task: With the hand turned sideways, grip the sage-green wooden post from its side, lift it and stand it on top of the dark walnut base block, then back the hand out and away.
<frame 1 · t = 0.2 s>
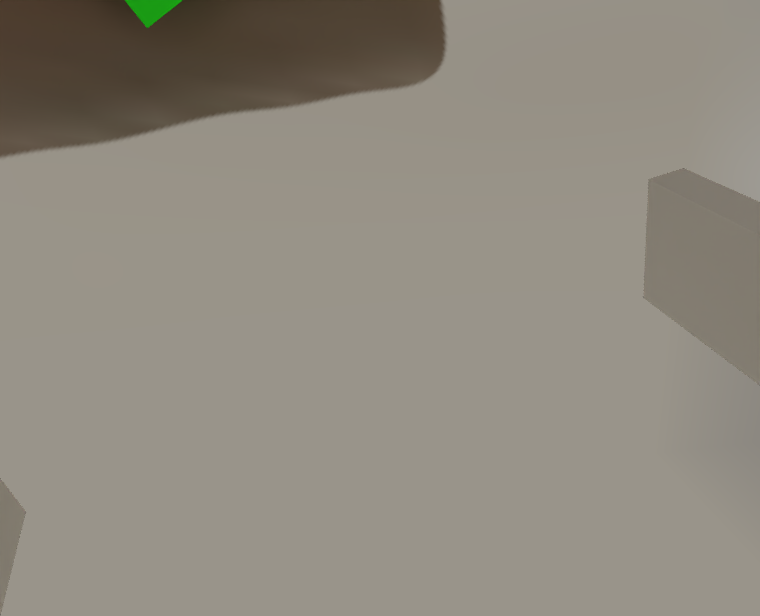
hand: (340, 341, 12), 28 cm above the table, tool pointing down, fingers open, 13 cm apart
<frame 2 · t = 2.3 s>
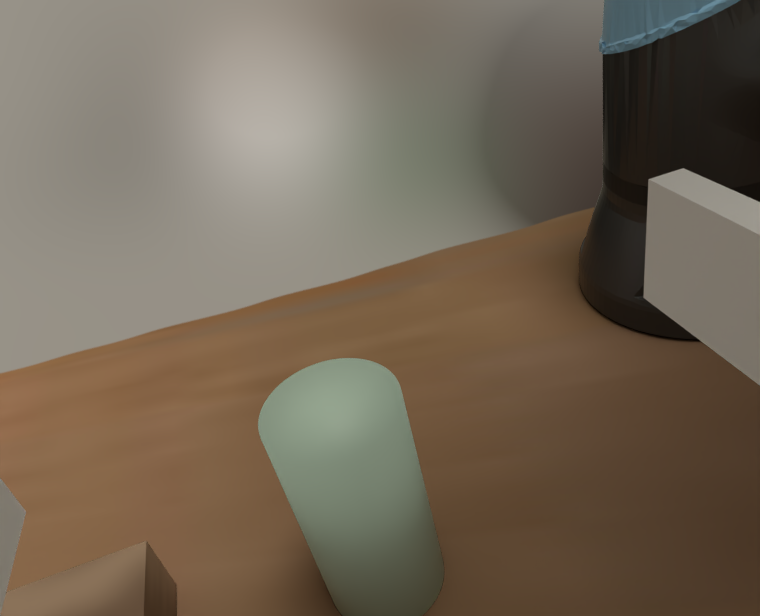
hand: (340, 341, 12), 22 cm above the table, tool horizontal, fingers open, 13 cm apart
green post: (386, 573, 33), on the table
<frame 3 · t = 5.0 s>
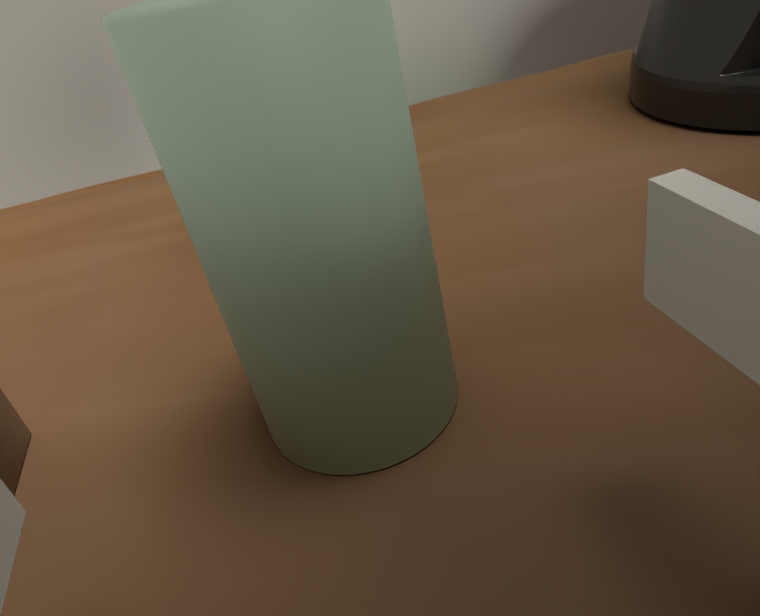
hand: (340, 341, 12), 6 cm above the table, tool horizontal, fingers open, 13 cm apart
green post: (362, 400, 20), on the table
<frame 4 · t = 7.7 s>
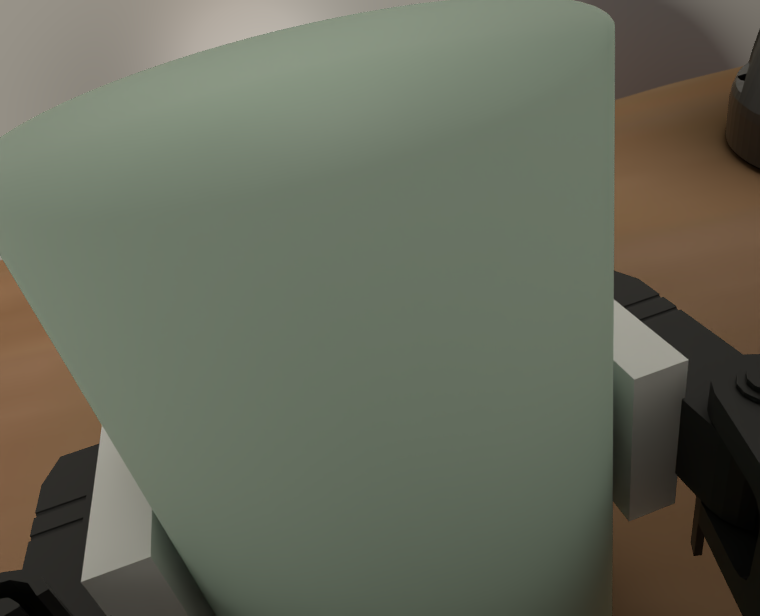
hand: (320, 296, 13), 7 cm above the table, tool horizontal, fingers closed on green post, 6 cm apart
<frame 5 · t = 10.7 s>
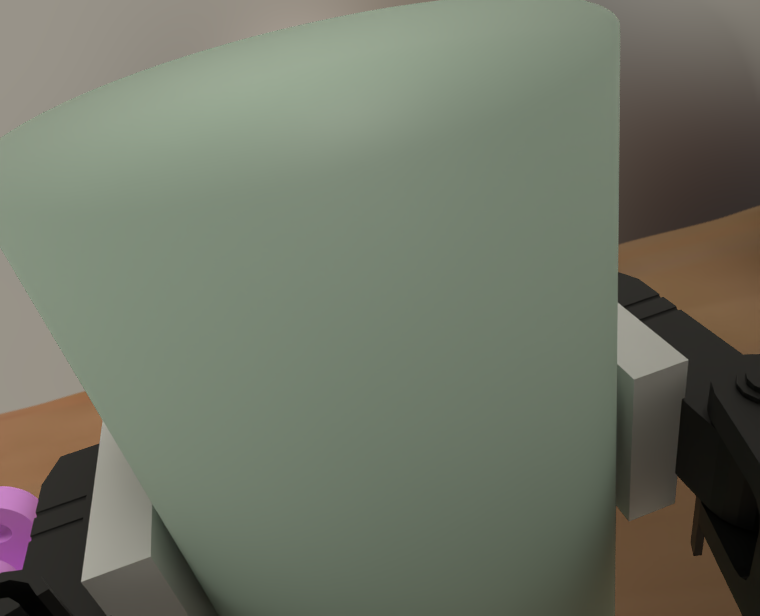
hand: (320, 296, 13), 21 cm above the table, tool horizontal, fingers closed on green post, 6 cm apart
when the fingers open (12 cm above the table, at t = 14.1 s): green post drops 1 cm, resting on walnut base.
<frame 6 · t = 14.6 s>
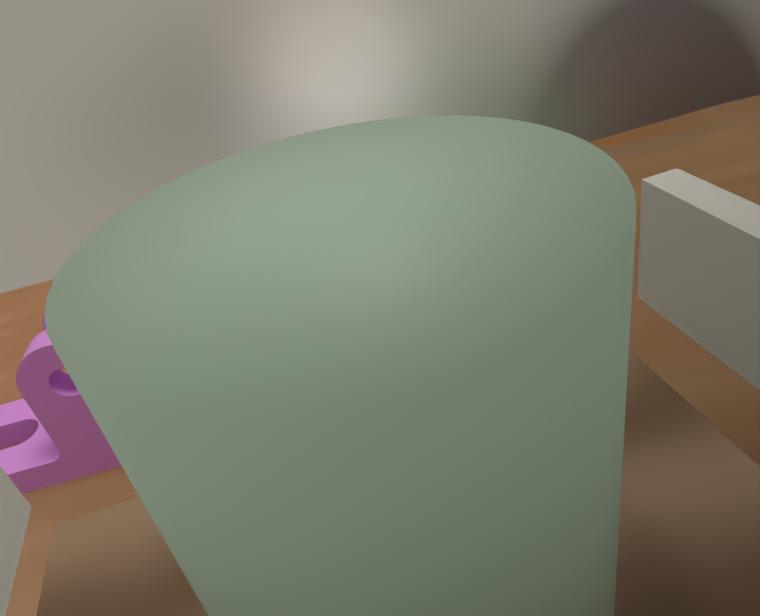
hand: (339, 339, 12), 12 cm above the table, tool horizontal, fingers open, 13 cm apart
bracket: (34, 456, 30), on the table
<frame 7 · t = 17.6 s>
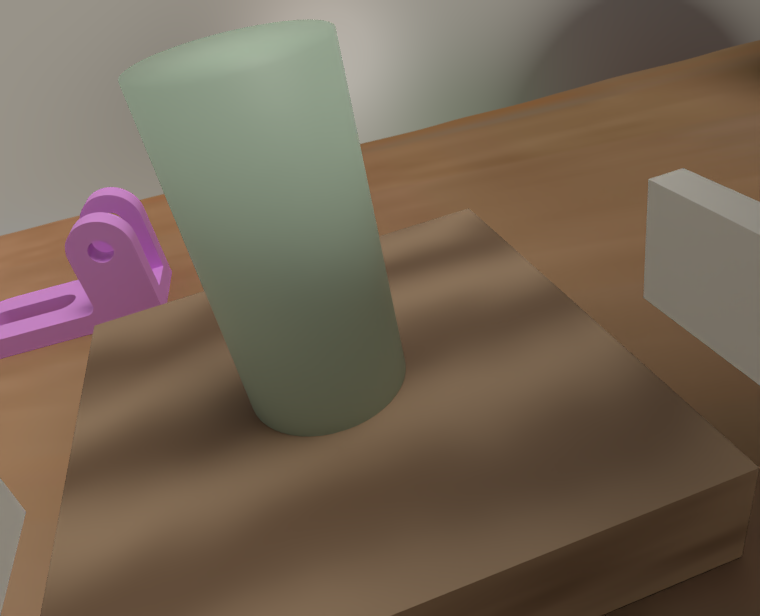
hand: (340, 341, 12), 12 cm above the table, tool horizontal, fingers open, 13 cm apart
green post: (327, 377, 24), point 4 cm above the table, touching walnut base
walnut base: (353, 449, 26), on the table
bracket: (72, 322, 41), on the table
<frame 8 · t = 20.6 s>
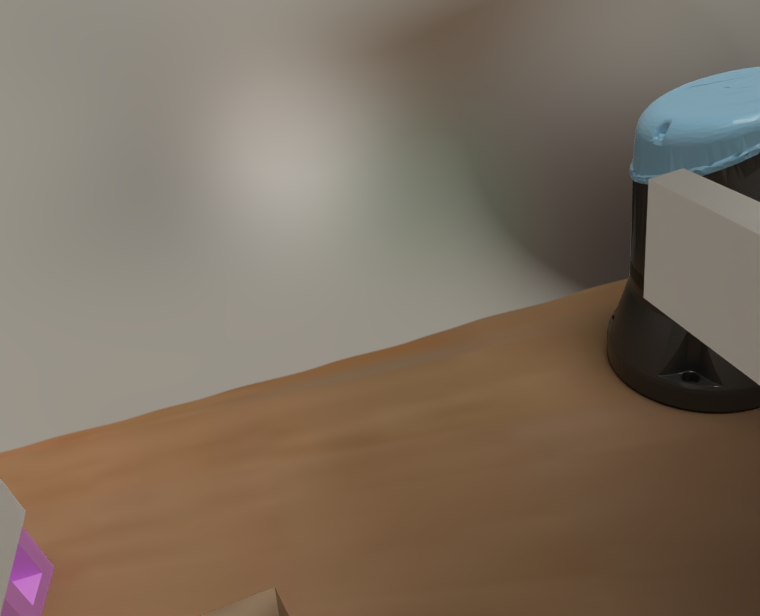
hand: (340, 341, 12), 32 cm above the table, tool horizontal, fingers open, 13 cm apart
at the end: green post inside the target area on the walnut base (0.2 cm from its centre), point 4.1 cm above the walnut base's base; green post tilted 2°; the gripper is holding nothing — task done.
